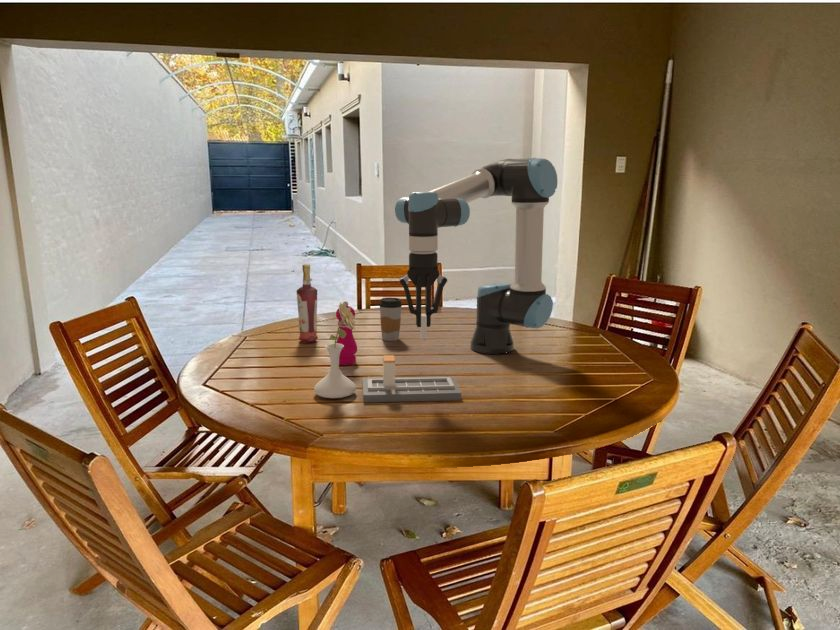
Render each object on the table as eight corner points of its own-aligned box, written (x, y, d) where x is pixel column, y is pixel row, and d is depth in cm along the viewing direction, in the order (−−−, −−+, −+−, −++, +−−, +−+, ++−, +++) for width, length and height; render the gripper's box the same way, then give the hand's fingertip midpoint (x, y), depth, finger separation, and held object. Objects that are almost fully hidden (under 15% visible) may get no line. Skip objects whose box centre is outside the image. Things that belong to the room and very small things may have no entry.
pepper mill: (353, 366, 181) (352, 304, 177) (331, 364, 182) (330, 302, 178) (360, 359, 188) (359, 299, 183) (339, 358, 189) (338, 298, 185)
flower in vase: (337, 405, 148) (336, 310, 143) (305, 396, 154) (302, 305, 149) (368, 391, 159) (368, 302, 154) (336, 383, 165) (335, 297, 160)
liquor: (321, 342, 208) (320, 265, 202) (302, 345, 204) (300, 266, 198) (313, 338, 214) (311, 263, 208) (294, 340, 210) (292, 264, 204)
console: (452, 382, 167) (452, 373, 167) (461, 399, 154) (461, 390, 153) (362, 384, 164) (362, 375, 164) (363, 402, 151) (363, 392, 150)
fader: (393, 381, 160) (393, 355, 159) (395, 387, 156) (395, 360, 154) (383, 381, 160) (383, 355, 158) (383, 387, 155) (383, 360, 154)
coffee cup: (405, 337, 216) (405, 298, 213) (395, 343, 209) (395, 302, 205) (385, 335, 219) (386, 296, 216) (375, 340, 212) (375, 300, 209)
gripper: (445, 249, 155) (444, 333, 161) (397, 250, 154) (398, 335, 159) (450, 253, 148) (449, 341, 153) (399, 254, 146) (400, 342, 152)
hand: (423, 338), depth 156 cm, fingers closed
